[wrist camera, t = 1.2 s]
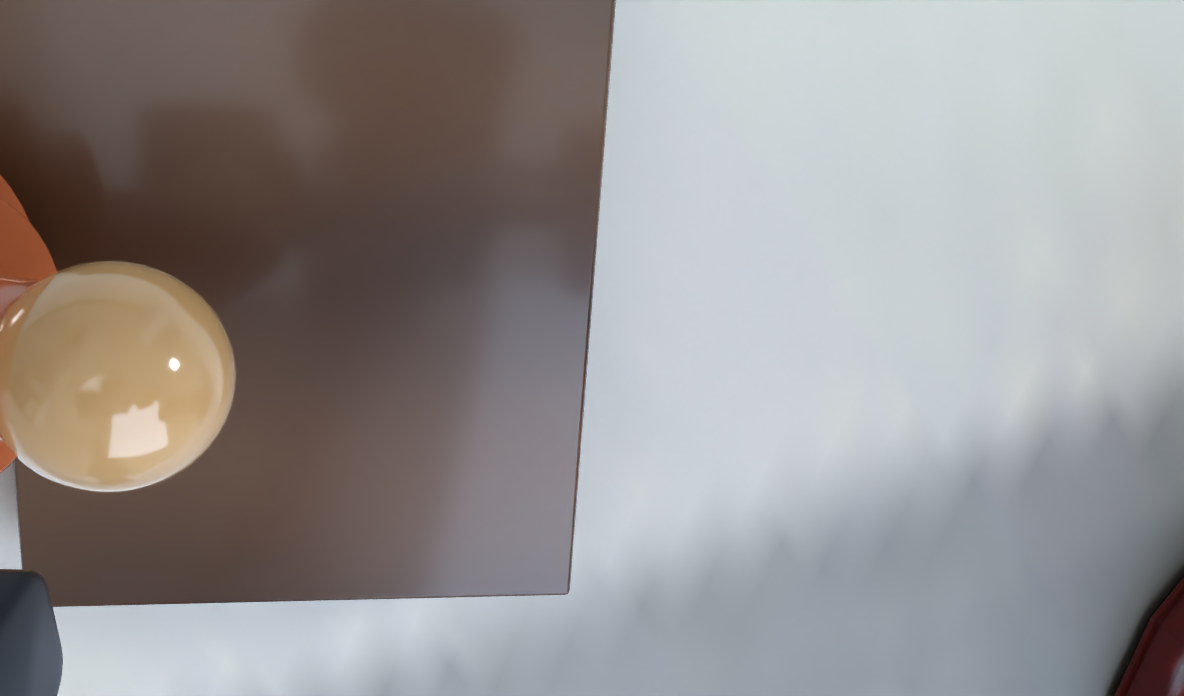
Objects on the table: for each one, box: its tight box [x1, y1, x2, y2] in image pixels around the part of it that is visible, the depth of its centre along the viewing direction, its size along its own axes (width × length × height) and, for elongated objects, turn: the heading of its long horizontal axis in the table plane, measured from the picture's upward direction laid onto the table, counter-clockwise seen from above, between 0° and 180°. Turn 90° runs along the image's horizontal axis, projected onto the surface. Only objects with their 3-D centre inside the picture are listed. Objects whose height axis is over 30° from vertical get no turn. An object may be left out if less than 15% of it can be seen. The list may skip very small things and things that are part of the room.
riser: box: [0, 0, 616, 607], centre depth 20 cm, size 12×10×2 cm
